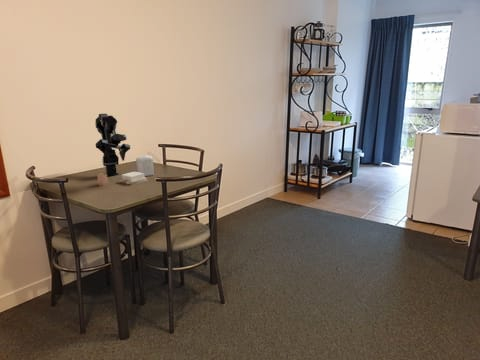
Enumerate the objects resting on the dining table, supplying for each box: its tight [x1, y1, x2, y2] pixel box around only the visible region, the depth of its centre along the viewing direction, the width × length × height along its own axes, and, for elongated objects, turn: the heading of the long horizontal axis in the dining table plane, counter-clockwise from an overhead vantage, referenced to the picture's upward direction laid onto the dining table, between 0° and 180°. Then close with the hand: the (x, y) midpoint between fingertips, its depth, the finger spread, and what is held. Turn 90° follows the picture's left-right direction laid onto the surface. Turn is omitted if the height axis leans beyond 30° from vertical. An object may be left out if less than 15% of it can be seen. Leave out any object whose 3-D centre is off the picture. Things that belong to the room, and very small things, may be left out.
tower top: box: [121, 171, 146, 181], centre depth 208 cm, size 9×9×2 cm
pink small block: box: [97, 172, 109, 187], centre depth 202 cm, size 5×5×6 cm
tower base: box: [119, 176, 149, 186], centre depth 209 cm, size 11×11×2 cm
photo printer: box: [135, 155, 155, 177], centre depth 220 cm, size 10×4×12 cm, turn 123°
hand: (116, 159), depth 200 cm, fingers open, 9 cm apart
